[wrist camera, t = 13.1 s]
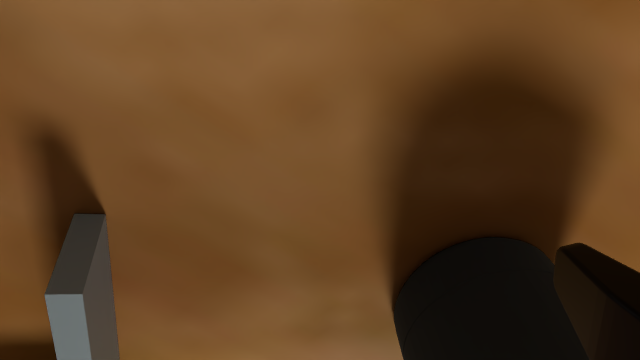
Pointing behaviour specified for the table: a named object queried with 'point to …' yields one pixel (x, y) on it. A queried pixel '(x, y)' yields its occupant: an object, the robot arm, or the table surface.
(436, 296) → the pen holder
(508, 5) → the table surface
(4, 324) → the table surface
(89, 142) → the table surface
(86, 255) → the frame
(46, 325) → the table surface
